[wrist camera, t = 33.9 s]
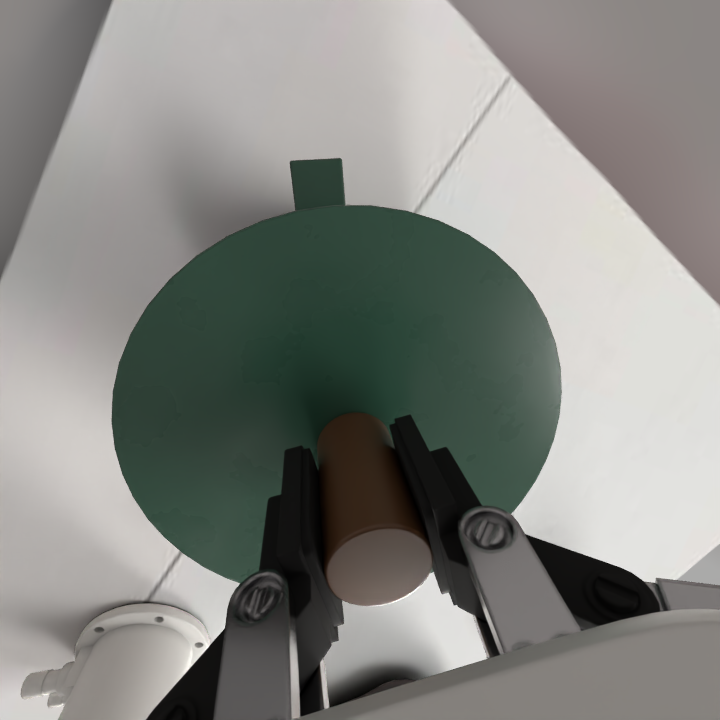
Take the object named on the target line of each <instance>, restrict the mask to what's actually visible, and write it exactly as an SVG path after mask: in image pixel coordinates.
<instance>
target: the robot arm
mask: <svg viewBox="0 0 720 720" xmlns="http://www.w3.org/2000/svg"><path fill="white" fill-rule="evenodd" d="M394 421H395V423H394V424H391V425H389V426H390V431H391V435H392V439H393V443H394V447H395V451H396V453H397V456H398V459H399V461H400V464H401V467H402V469H403V472H404V475H405V477H406V480H407V483H408V485H409V488H410V491H411V493H412V496H413V499H414V501H415V504H416V507H417V509H418V512H419V515H420V517H421V520H422V523H423V525H424V528H425V531H426V533H427V536H428V539H429V542H430V545H431V549H432V553H433V565H432V568H433V571H434V574H435V577H436V580H437V582H438V585H439V588H440V591H441V593H442V594H445V593H448V592H449V594H450V596H451V599H452V602H453V604H454V605H458V607H459V608H461V609H463V610H465V611H467V612H469V613H471V614H473V617H474V621H475V624H476V626H477V629H478V632H479V635H480V638H481V641H482V644H483V647H484V650H485V653H486V656H487V658H488V659H486V660H482V661H479V662H476V663H473V664H469V665H466V666H463V667H459V668H456V669H453V670H450V671H446V672H443V673H440V674H437V675H433V676H430V677H427V678H424V679H420V680H417V681H414V682H411V683H407V684H404V685H401V686H398V687H395V688H391V689H388V690H385V691H382V692H378V693H375V694H372V695H369V696H366V697H362V698H359V699H356V700H353V701H349V702H346V703H343V704H340V705H337V706H333V707H330V708H329V699H328V690H327V680H326V670H325V663H324V659H323V658H324V656H325V655H326V653H327V652H328V650H329V648H330V647H331V643H332V642H336V641H339V640H338V627H337V626H339V625H342V624H344V617H343V606H342V600H341V599H339V598H338V597H337V596H335V595H334V594H333V593H332V592H331V590H330V589H329V587H328V584H327V582H326V579H325V576H324V572H323V553H322V533H321V514H320V494H319V474H318V469H317V466H316V463H315V461H314V458H313V455H312V452H311V450H310V448H306V449H304V447H303V446H302V445H300V446H297V447H293V448H290V449H286V450H285V452H284V464H283V477H282V489H281V494H280V495H277V496H273V497H270V498H269V499H268V503H267V510H266V518H265V526H264V534H263V542H262V550H261V558H260V566H259V571H258V572H256V573H254V574H252V575H250V576H249V577H247V578H246V579H245V580H244V581H242V582H241V584H240V585H239V586H238V587H237V588H236V589H235V591H234V593H233V595H232V597H231V598H230V602H229V605H228V609H227V617H226V625H225V629H224V630H223V631H222V632H221V634H220V635H219V636H218V637H217V638H216V639H215V640H214V641H213V643H212V644H211V645H210V638H209V634H208V632H207V630H206V628H205V627H204V625H203V624H202V623H201V622H200V621H199V620H198V619H197V618H195V617H194V616H192V615H191V614H189V613H187V612H185V611H183V610H181V609H178V608H175V607H171V606H168V605H161V604H144V603H142V604H132V605H126V606H122V607H118V608H115V609H112V610H110V611H107V612H105V613H103V614H101V615H100V616H98V617H96V618H95V619H93V620H92V621H91V622H90V623H89V624H88V625H87V626H86V627H85V629H84V630H83V631H82V633H81V635H80V637H79V639H78V641H77V643H76V646H75V651H74V655H75V662H70V663H67V664H66V665H64V666H63V668H62V669H57V670H53V669H52V670H47V671H41V672H36V673H31V674H30V675H28V676H27V677H26V679H25V681H24V682H23V685H22V688H21V697H22V699H30V698H36V697H41V696H46V695H47V694H50V693H51V694H50V696H49V698H48V703H47V704H48V707H49V708H53V707H58V706H64V705H65V706H64V708H63V710H62V712H61V714H60V716H59V718H58V720H720V585H711V584H703V583H695V582H687V581H678V580H670V579H661V578H656V582H655V583H651V582H644V581H642V580H641V579H640V578H638V577H637V576H636V575H634V574H633V573H631V572H629V571H626V570H624V569H622V568H620V567H617V566H614V565H611V564H609V563H606V562H603V561H600V560H597V559H594V558H591V557H589V556H586V555H583V554H580V553H577V552H574V551H571V550H568V549H566V548H563V547H560V546H557V545H554V544H551V543H548V542H546V541H543V540H540V539H537V538H534V537H531V536H528V535H525V534H524V532H523V530H522V528H521V527H520V525H519V523H518V522H517V520H516V519H515V518H514V517H513V516H512V515H511V514H510V513H508V512H507V511H505V510H503V509H501V508H498V507H495V506H487V505H485V506H482V504H481V503H480V501H479V499H478V498H477V496H476V494H475V493H474V491H473V489H472V488H471V486H470V484H469V483H468V481H467V479H466V478H465V476H464V474H463V473H462V471H461V469H460V468H459V466H458V464H457V463H456V461H455V459H454V458H453V456H452V454H451V453H450V451H449V449H448V448H447V447H443V448H440V449H436V450H433V451H429V449H428V447H427V445H426V443H425V441H424V439H423V437H422V435H421V433H420V431H419V430H418V428H417V426H416V424H415V422H414V420H413V418H412V416H411V415H410V414H409V415H406V416H402V417H399V418H395V419H394Z"/></svg>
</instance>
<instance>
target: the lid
mask: <svg viewBox="0 0 720 720" xmlns="http://www.w3.org/2000/svg"><path fill="white" fill-rule="evenodd" d="M561 393H562V390H561V369H560V363H559V358H558V353H557V348H556V343H555V340H554V338H553V335H552V332H551V329H550V327H549V324H548V321H547V318H546V317H545V315H544V313H543V311H542V309H541V307H540V306H539V304H538V302H537V300H536V298H535V297H534V295H533V293H532V292H531V291H530V290H529V288H528V287H527V286H526V285H525V283H524V282H523V281H522V279H521V278H520V277H519V276H518V274H517V273H516V272H515V271H514V270H513V269H512V268H511V267H510V266H509V265H508V264H507V263H505V262H504V261H503V260H502V259H501V258H500V257H499V256H498V255H497V254H496V253H495V252H493V251H492V250H490V249H489V248H488V247H486V246H485V245H483V244H482V243H480V242H479V241H477V240H476V239H474V238H473V237H471V236H470V235H468V234H466V233H464V232H462V231H460V230H458V229H456V228H453V227H451V226H449V225H447V224H445V223H443V222H441V221H439V220H435V219H432V218H429V217H425V216H422V215H419V214H415V213H412V212H409V211H405V210H398V209H391V208H385V207H378V206H371V205H333V206H326V207H318V208H311V209H304V210H297V211H294V212H290V213H287V214H283V215H280V216H276V217H273V218H269V219H266V220H262V221H260V222H258V223H255V224H253V225H251V226H249V227H246V228H244V229H242V230H240V231H238V232H235V233H233V234H231V235H229V236H227V237H225V238H224V239H222V240H221V241H219V242H217V243H216V244H214V245H213V246H211V247H210V248H208V249H206V250H205V251H203V252H202V253H200V254H199V255H197V256H196V257H195V258H193V259H192V260H191V261H190V262H189V263H188V264H187V265H185V266H184V267H183V268H182V269H181V270H180V271H179V272H177V273H176V274H175V275H174V276H173V277H172V278H171V279H170V280H169V281H168V282H167V283H166V284H165V285H164V287H163V288H162V289H161V290H160V291H159V293H158V294H157V295H156V296H155V297H154V298H153V300H152V301H151V302H150V303H149V304H148V306H147V307H146V309H145V311H144V312H143V314H142V316H141V317H140V319H139V321H138V322H137V324H136V326H135V327H134V329H133V331H132V332H131V334H130V337H129V339H128V342H127V344H126V347H125V349H124V352H123V354H122V357H121V359H120V362H119V366H118V371H117V375H116V380H115V384H114V389H113V401H112V429H113V437H114V445H115V450H116V454H117V457H118V461H119V464H120V468H121V471H122V474H123V476H124V479H125V481H126V483H127V485H128V487H129V489H130V491H131V493H132V496H133V498H134V499H135V501H136V502H137V504H138V505H139V507H140V508H141V510H142V511H143V513H144V514H145V516H146V517H147V519H148V520H149V521H150V522H151V523H152V524H153V525H154V526H155V527H156V529H157V530H158V531H159V532H160V533H161V534H162V535H163V536H164V537H165V538H166V539H167V540H168V541H169V542H170V543H172V544H173V545H174V546H175V547H176V548H177V549H179V550H180V551H181V552H182V553H183V554H185V555H186V556H188V557H189V558H191V559H192V560H194V561H195V562H197V563H199V564H200V565H202V566H203V567H205V568H207V569H209V570H211V571H213V572H215V573H217V574H219V575H221V576H223V577H225V578H227V579H230V580H233V581H235V582H238V583H241V582H242V581H244V580H245V579H246V578H247V577H249V576H250V575H252V574H254V573H256V572H258V571H259V566H260V558H261V550H262V542H263V534H264V526H265V518H266V510H267V503H268V499H269V498H270V497H273V496H277V495H280V494H281V489H282V477H283V464H284V452H285V450H286V449H290V448H293V447H297V446H300V445H302V446H303V447H304V449H306V448H310V450H311V452H312V455H313V458H314V461H315V463H316V466H317V469H318V474H319V494H320V514H321V533H322V553H323V572H324V576H325V579H326V582H327V584H328V587H329V589H330V590H331V592H332V593H333V594H334V595H335V596H337V597H338V598H339V599H341V600H343V601H345V602H348V603H350V604H354V605H359V606H379V605H385V604H389V603H392V602H395V601H398V600H400V599H402V598H404V597H406V596H408V595H409V594H411V593H413V592H414V591H415V590H416V589H418V588H419V587H420V586H421V585H422V584H423V582H424V581H425V580H426V579H427V577H428V575H429V574H430V573H432V572H434V571H433V568H432V565H433V553H432V549H431V545H430V542H429V539H428V536H427V533H426V531H425V528H424V525H423V523H422V520H421V517H420V515H419V512H418V509H417V507H416V504H415V501H414V499H413V496H412V493H411V491H410V488H409V485H408V483H407V480H406V477H405V475H404V472H403V469H402V467H401V464H400V461H399V459H398V456H397V453H396V451H395V447H394V443H393V439H392V435H391V431H390V426H389V425H391V424H394V423H395V421H394V419H395V418H399V417H402V416H406V415H409V414H410V415H411V416H412V418H413V420H414V422H415V424H416V426H417V428H418V430H419V431H420V433H421V435H422V437H423V439H424V441H425V443H426V445H427V447H428V449H429V451H433V450H436V449H440V448H443V447H447V448H448V449H449V451H450V453H451V454H452V456H453V458H454V459H455V461H456V463H457V464H458V466H459V468H460V469H461V471H462V473H463V474H464V476H465V478H466V479H467V481H468V483H469V484H470V486H471V488H472V489H473V491H474V493H475V494H476V496H477V498H478V499H479V501H480V503H481V504H482V506H485V505H487V506H495V507H498V508H501V509H503V510H505V511H507V512H508V513H510V514H511V513H512V512H513V511H514V510H515V509H516V508H517V506H518V505H519V504H520V503H521V502H522V500H523V499H524V497H525V496H526V494H527V493H528V491H529V490H530V488H531V487H532V485H533V484H534V482H535V481H536V479H537V477H538V475H539V473H540V471H541V469H542V467H543V465H544V463H545V461H546V459H547V456H548V454H549V451H550V448H551V446H552V443H553V440H554V437H555V432H556V428H557V424H558V420H559V414H560V404H561Z"/></svg>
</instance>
